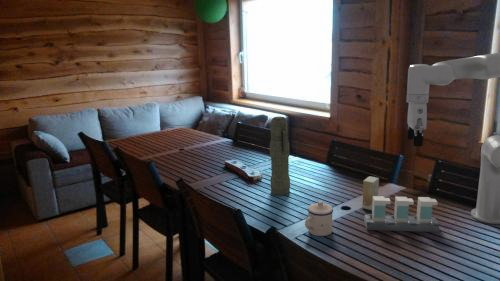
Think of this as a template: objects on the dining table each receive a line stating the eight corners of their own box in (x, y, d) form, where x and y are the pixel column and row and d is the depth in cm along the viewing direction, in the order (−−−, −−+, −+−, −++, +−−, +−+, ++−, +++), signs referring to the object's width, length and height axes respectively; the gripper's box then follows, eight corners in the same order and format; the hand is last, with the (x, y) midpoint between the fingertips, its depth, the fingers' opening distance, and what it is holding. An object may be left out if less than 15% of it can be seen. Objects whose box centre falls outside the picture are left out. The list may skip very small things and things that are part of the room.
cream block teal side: (432, 220, 148) (434, 197, 146) (436, 226, 143) (438, 202, 141) (416, 219, 149) (417, 197, 147) (419, 225, 144) (421, 202, 142)
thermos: (280, 198, 178) (279, 121, 169) (265, 190, 188) (263, 117, 179) (296, 193, 183) (295, 118, 174) (280, 186, 192) (278, 114, 183)
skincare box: (368, 203, 170) (369, 175, 167) (378, 205, 167) (379, 177, 164) (361, 208, 165) (362, 180, 162) (372, 210, 162) (373, 182, 159)
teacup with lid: (319, 223, 154) (319, 194, 151) (338, 231, 147) (338, 201, 144) (296, 233, 147) (296, 203, 144) (315, 242, 140) (315, 211, 137)
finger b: (410, 219, 149) (411, 196, 147) (413, 225, 145) (414, 202, 142) (393, 218, 150) (395, 196, 148) (396, 224, 146) (397, 201, 143)
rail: (433, 223, 150) (433, 215, 149) (439, 232, 143) (439, 224, 142) (364, 221, 154) (364, 214, 153) (366, 229, 147) (366, 222, 146)
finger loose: (387, 218, 151) (388, 196, 148) (390, 224, 146) (391, 201, 144) (371, 218, 151) (372, 196, 149) (373, 224, 147) (374, 201, 145)
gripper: (434, 101, 140) (431, 148, 145) (422, 94, 157) (419, 137, 161) (412, 102, 142) (409, 148, 146) (401, 94, 158) (399, 137, 162)
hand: (414, 142), depth 154 cm, fingers open, 9 cm apart
